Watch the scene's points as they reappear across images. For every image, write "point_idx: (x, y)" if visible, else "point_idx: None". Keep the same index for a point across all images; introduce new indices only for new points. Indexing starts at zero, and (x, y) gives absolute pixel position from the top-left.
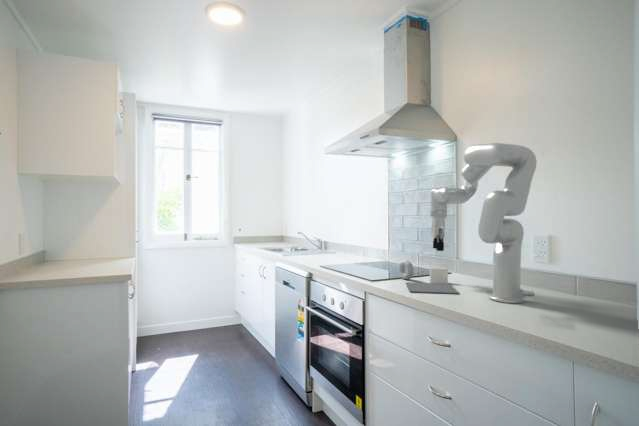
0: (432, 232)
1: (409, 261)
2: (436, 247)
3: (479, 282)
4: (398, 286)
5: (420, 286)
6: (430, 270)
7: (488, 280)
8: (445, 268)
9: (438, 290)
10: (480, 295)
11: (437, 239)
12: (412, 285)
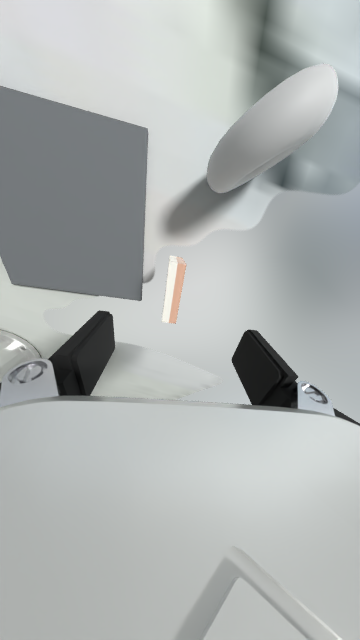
0: (233, 596)
1: (262, 139)
2: (241, 348)
3: (176, 365)
4: (67, 43)
5: (66, 178)
6: (169, 260)
7: (196, 382)
8: (169, 317)
9: (16, 230)
10: (28, 324)
11: (11, 392)
12: (77, 141)
